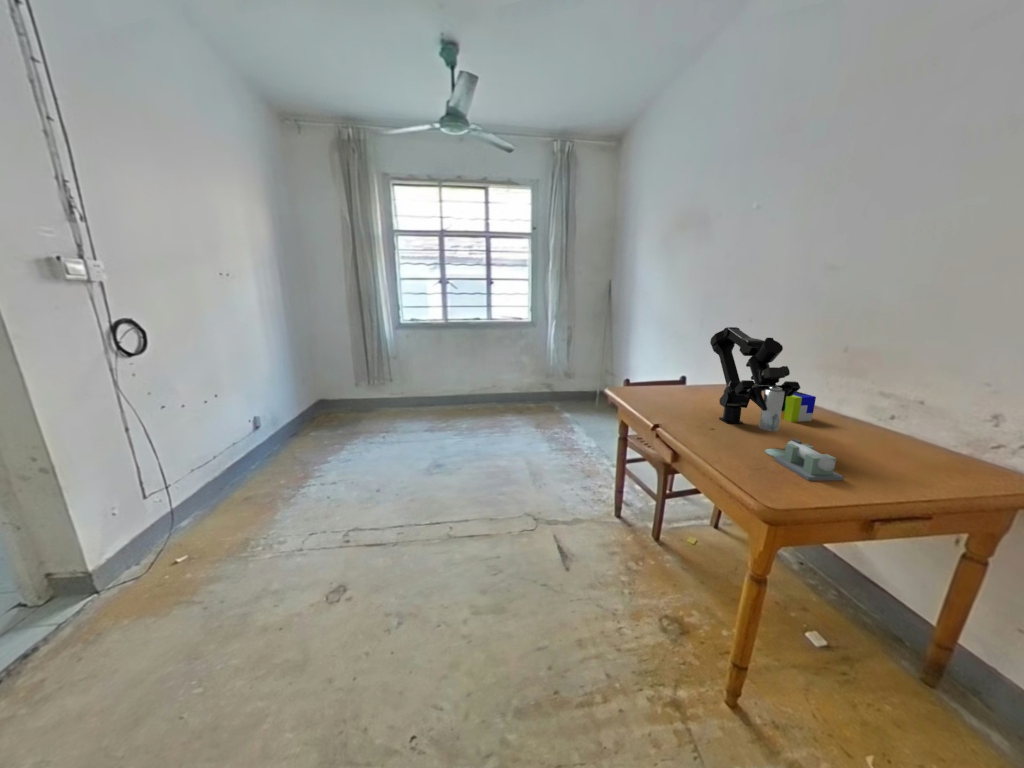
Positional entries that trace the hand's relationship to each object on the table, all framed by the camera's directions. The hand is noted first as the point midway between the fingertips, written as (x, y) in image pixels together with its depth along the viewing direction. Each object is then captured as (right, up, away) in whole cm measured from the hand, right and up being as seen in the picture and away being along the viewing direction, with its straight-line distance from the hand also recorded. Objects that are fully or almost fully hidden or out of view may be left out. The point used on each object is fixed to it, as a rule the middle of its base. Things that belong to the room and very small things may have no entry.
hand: (774, 410), depth 134 cm
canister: (0, -6, +3) cm, 7 cm away
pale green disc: (0, -13, -4) cm, 14 cm away
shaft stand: (0, -16, -15) cm, 22 cm away
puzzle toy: (+29, -5, +35) cm, 46 cm away
